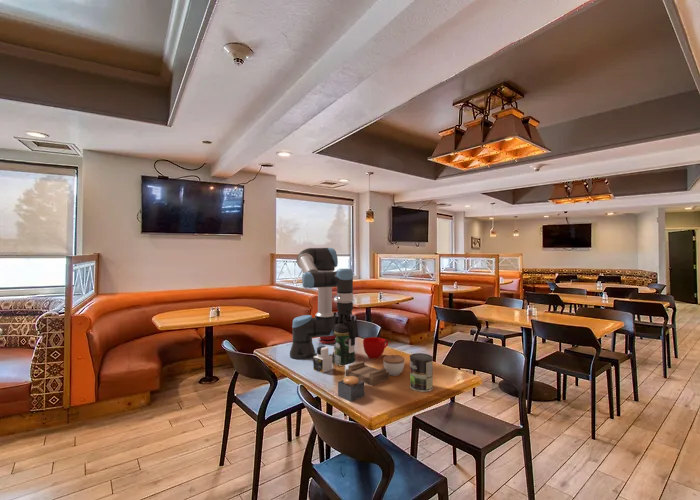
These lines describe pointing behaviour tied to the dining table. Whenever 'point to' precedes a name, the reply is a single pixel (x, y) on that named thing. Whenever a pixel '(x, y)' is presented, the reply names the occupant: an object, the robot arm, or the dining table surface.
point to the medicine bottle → (322, 360)
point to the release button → (351, 380)
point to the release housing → (350, 390)
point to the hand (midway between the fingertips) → (345, 350)
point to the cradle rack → (367, 373)
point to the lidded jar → (393, 364)
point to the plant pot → (327, 339)
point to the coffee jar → (342, 345)
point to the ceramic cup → (374, 347)
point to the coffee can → (421, 372)
